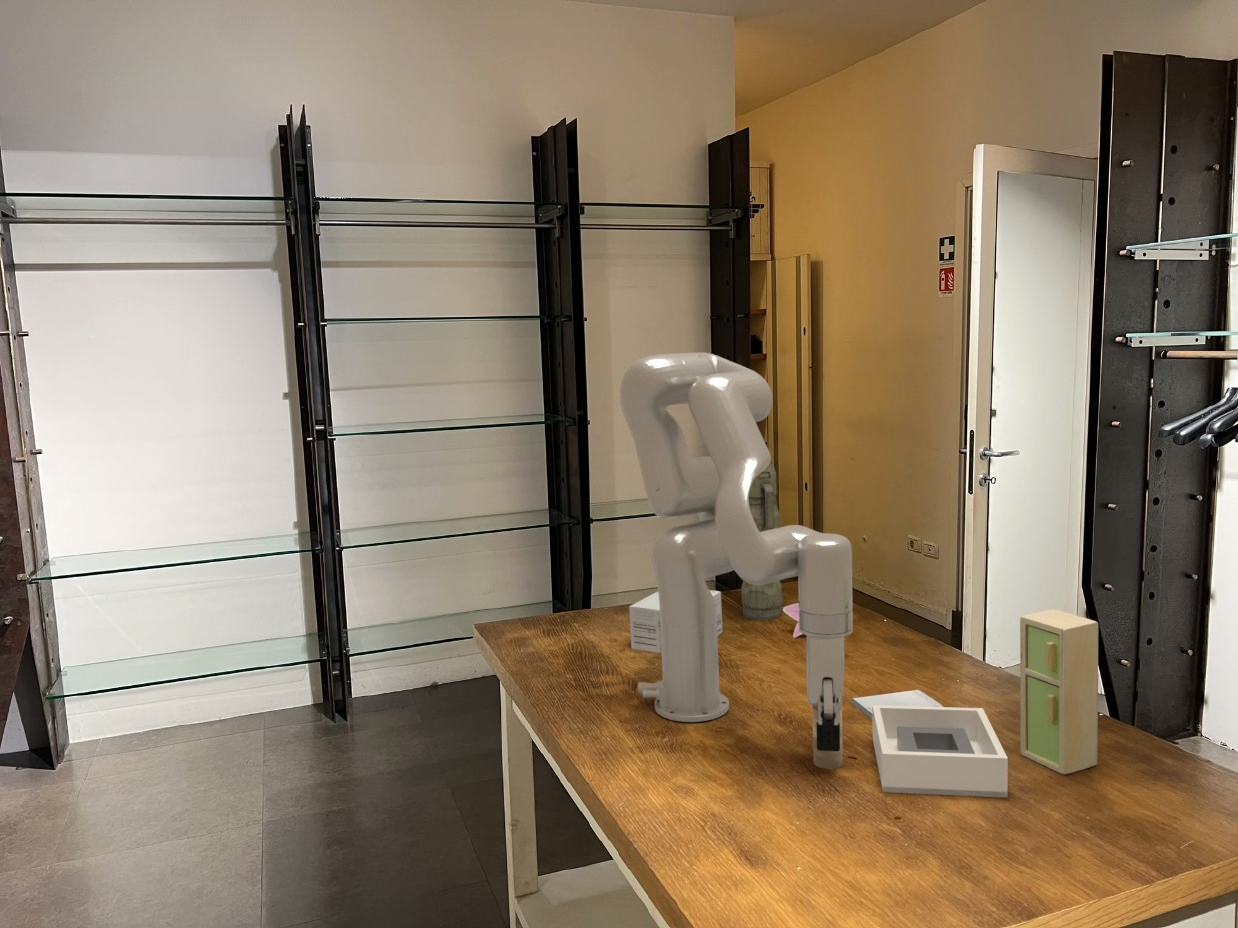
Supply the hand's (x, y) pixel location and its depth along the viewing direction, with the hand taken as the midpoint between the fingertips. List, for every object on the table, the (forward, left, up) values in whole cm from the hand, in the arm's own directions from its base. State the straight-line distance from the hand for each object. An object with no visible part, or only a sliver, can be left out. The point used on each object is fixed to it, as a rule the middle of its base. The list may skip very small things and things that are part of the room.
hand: (827, 738), depth 137 cm
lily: (-1, +59, -4) cm, 59 cm away
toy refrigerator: (+32, +4, -4) cm, 32 cm away
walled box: (+15, 0, -4) cm, 15 cm away
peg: (0, 0, -4) cm, 4 cm away
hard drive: (+12, +22, -4) cm, 25 cm away
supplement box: (-29, +54, -4) cm, 62 cm away
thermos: (-12, +74, -4) cm, 75 cm away
